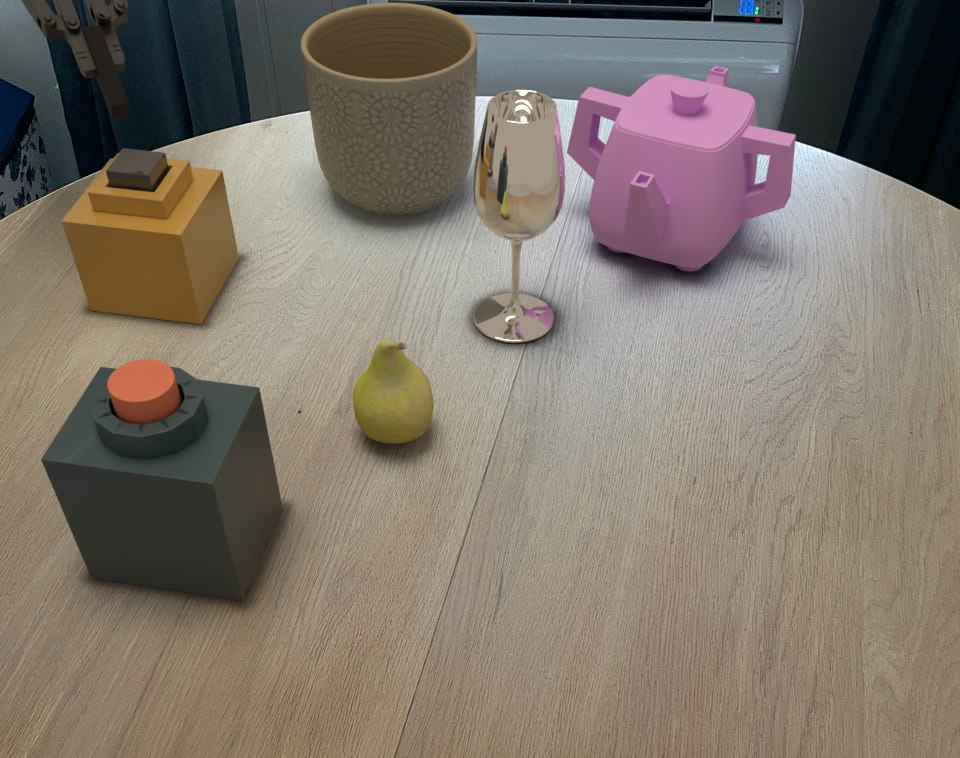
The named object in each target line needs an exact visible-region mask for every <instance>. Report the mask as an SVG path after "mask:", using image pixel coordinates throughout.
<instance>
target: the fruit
mask: <svg viewBox="0 0 960 758" xmlns="http://www.w3.org/2000/svg"><path fill="white" fill-rule="evenodd" d="M407 348H408V346H407V344H406V343H405V342H404V341H401V342H399V343H397V342H396V340H394V339H392V338H384V339H381V340H380V341H379V343H378V344H377V345H376V347H375V349H374V352H373V353H372V354H373V355H372V358H371V360H370V362H369V365H368V366H367V368H366V370H365V371H363V373H361V374H360V375H359V377H358V378H357V380H356V382H355V385H354V388H353V392H352V405H353V406H352V407H353V411H354V417H355V420H356V423H357V425H358V427H359V428H360V429H361V431H362V432H363V434H364V435H366V436H367V437H368V438H369V439H371V440H373V441H376V442H378V443H382V444H383V443H384V444H403V443H408V442H412V441H414V440H416V439H418V438H419V437H421V436H422V435H423V434H424V433H425V432H426V431H427V429H428V428H429V426H430V424H431V422H432V418H433V414H434V408H435V407H434V396H433V395H434V394H433V390H432V385H431V383H430V380H429V378H428V376H427V375H426V373H425V371H424V370H423V369H422V368H421V367H420V366H419V365H418V364H416V363H415V362H413V360H411V359H410V358H408V356H407V355H406V354H405V352H404V351H403V350H405V349H407Z"/></svg>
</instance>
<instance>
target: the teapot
mask: <svg viewBox="0 0 960 758" xmlns="http://www.w3.org/2000/svg"><path fill="white" fill-rule="evenodd" d="M729 71H730V68H727V67H723V66H719V65H714V66H713V67H711V69H709V72H708V75H707V78H706V80H705V81H702V80H698V79H693V78H687V77H682V76H679V75H670V74H659V75H656V76H654V77H652V78H650V79H649V80H647V81H646V82H645V83H643V84H642V85H641V86H639V88H638V89H636V90H635V91H634V93H633V94H631V95H630V96H627V95H623V94H619V93H616V92H611V91H607V90H604V89H600V88H596V87H593V86H589V87H587V89H585V91H584V92H583V93H582V94H580V96H579V97H578V101H577V105H576V106H577V107H576V110H575V114H574V118H573V123H572V127H571V131H570V136H569V140H568V145H567V149H566V154H567V155H568V156H569V157H570V158H571V159H572V160H573V161H574V162H575V163H576V164H577V165H578V166H579V167H580V168H581V169H582V170H583V171H584V172H585V173H586V174H587V175H588V176H589V177H590V178H591V179H592V180H593V184H592V189H591V194H590V198H589V206H588V218H589V225H590V228H591V231H592V233H593V236H594V238H595V241H596V242H598V244H599V243H600V244H601V245H604V246H606V247H607V249H608V250H610V251H612V252H614V253H623V254H624V253H627V254H631V255H634V256H637V257H641V258H644V259H648V260H653V261H657V262H660V263H664V264H669V265H673V266H675V268H677V270H678V269H679V270H681V271H684V272H695V271H700V270H701V269H702V268H703V266H705V265H706V264H708V263H710V262H711V261H712V260H713V259H715V257H717V256H718V255H719V254H720V253H721V251H722V250H723V249H725V247H726V246H727V245H728V244H729V243H730V241H732V239H733V237H734V236H735V235H736V233H737V232H738V230H739V229H740V227H741V226H742V224H743V222H744V221H748V220H751V219H753V218H757V217H760V216H762V215H766V214H769V213H772V212H775V211H777V210H782V209H784V208H786V205H787V204H788V201H789V200H790V198H791V196H792V195H791V194H792V184H793V172H794V160H795V151H796V150H795V149H796V138H797V134H795V133H790V132H789V133H788V132H785V131H780V130H775V129H770V128H765V127H759V126H758V121H757V119H758V118H757V107H756V100H755V98H754V97H753V96H752V94H751V93H749V92H746V91H742V90H740V89H735V88H731V87H728V80H729V79H728V77H729ZM602 118H604V119H607V120H609V121H611V122H614V123H613V125H612V127H611V130H610V131H609V134H608V137H607V140H606V143H604V142H603V141H602V139H600V138H599V133H600V126H601V125H600V124H601V119H602ZM758 156H769V160H768V165H767V171H766V172H767V173H766V177H765V181H762V182H757V183H756V177H757V167H758Z"/></svg>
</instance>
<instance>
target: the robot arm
mask: <svg viewBox="0 0 960 758" xmlns="http://www.w3.org/2000/svg"><path fill="white" fill-rule="evenodd" d="M20 1H21V3H22V4H23V5H24V7H25V9H26V11H27V12H28V14H29V15H30V17H31V18H32V20H33V21H34V22H35V24H36V26H37V27H38V28H39V30H40V32H41V33H42V35H43V36H44V37H45V38H47V39H50V40H51V39H55V38H59V39H60V38H61V39H64V40H65V41H66V42H67V44H69V46H70V47H71V50H72V53H73V55H74V58H75V60H76V63H77V66H78V69H79V71H80V73H81V75H82V76H83V78H84V79H91V78H96V82H97V84H98V86H99V89H100V92H101V94H102V98H103V99H104V103H105V105H106V108H107V110H108V113H109V115H110V118H111V120H113V119H117V118H121V117H127V116H129V112H130V111H129V110H130V109H129V108H130V107H129V106H130V102H129V99H128V96H127V94H126V91H125V88H124V86H123V82H122V80H121V78H120V75H119V72H123V71H125V69H126V68H125V67H126V66H125V65H126V57H125V53H124V51H123V48H122V46H121V43H120V41H119V40H120V39H119V38H118V35H117V33H116V28H117V27H119V26H120V25H121V26H122V25H125V24H127V22H128V21H129V20H128V19H129V0H110V3H109V4H108V5H107V2H106V0H84V2H85V4H86V7H87V10H88V12H89V15H90V18H91V20H92V24H93V25H89V26H85V27H82V25H81V20H80V17H79V14H78V12H77V10H76V7H75V4H74V2H73V1H74V0H52V2H53V5H54V7H55V10H56V13H57V14H55V13H54V12H53V10H52V8H51V7H50V5H49V4H48V2H47V0H20Z"/></svg>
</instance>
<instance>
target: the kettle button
mask: <svg viewBox="0 0 960 758" xmlns="http://www.w3.org/2000/svg"><path fill="white" fill-rule="evenodd" d="M118 153H119V154H118V156H117V157H116V158H115V159H114V158H113V159H114V161H113V162H112V163H111V165H110V166H109V167H108V168H107V170H106V174H107V177H108V181H109V185H110V187H111V188H120V189H129V190H138V191H147V192H155V191H156V189H157V188H158V186H159V185H160V183H161V182H162V181H163V179H164V178H165V176H166V175H167V173H168V172H169V167H168V162H167V158H168V157H167V154H166V152H161V151H153V150H145V149H143V150H142V149H134V148H125V147H124V148H122V149H121V150H120V151H119V152H118Z"/></svg>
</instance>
